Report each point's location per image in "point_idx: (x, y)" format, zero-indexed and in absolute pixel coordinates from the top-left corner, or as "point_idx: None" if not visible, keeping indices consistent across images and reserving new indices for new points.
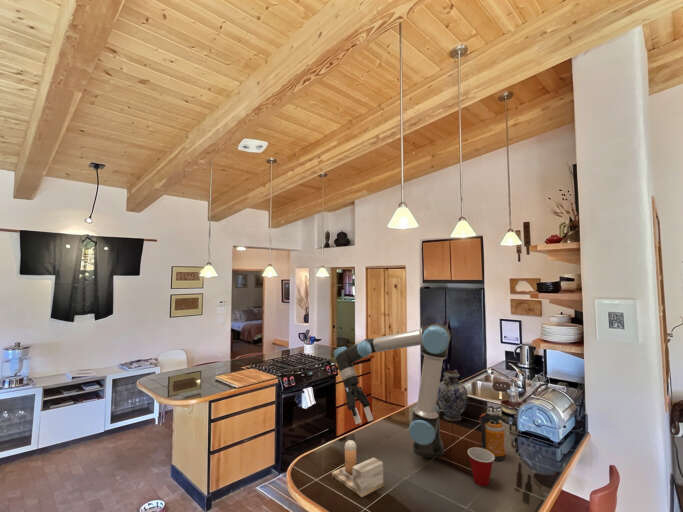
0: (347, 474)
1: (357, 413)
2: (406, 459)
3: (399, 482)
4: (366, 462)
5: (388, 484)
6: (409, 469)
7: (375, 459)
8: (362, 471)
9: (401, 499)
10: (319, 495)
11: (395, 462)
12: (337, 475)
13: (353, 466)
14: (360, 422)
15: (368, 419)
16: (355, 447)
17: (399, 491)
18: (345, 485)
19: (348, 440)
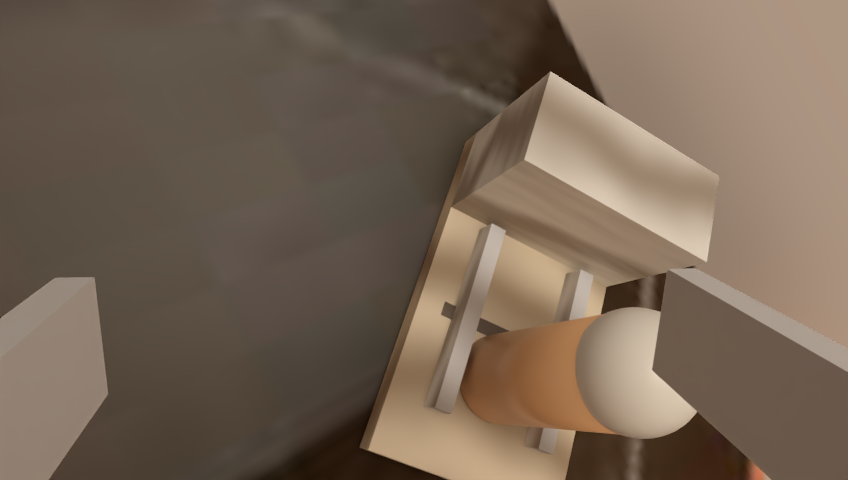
0: None
1: (825, 342)
2: (11, 53)
3: (382, 58)
4: (614, 188)
5: (435, 117)
6: (185, 13)
7: (544, 136)
8: (708, 173)
9: (517, 26)
10: (710, 441)
11: (119, 134)
12: (566, 449)
13: (699, 258)
14: (678, 282)
15: (86, 394)
16: (636, 307)
17: (463, 45)
18: None
19: (677, 401)
